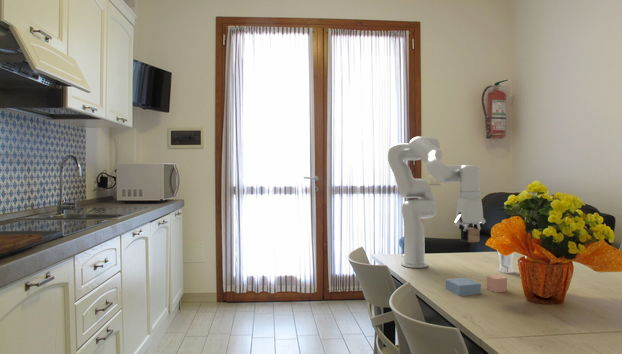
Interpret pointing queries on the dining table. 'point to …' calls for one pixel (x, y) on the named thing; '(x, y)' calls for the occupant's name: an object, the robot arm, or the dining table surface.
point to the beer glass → (506, 263)
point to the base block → (463, 286)
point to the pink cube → (496, 283)
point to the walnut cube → (473, 235)
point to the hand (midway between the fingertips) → (470, 239)
